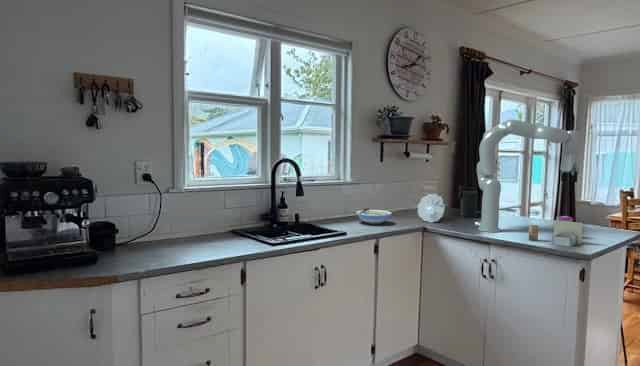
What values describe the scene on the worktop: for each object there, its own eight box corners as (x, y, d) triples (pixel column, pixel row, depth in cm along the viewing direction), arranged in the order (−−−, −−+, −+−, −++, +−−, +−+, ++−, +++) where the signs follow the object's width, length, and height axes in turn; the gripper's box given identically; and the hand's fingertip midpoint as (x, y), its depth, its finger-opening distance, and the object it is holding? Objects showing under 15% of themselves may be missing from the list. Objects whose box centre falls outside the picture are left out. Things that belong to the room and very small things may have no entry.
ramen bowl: (388, 228, 257) (388, 214, 257) (351, 225, 264) (351, 212, 264) (394, 221, 281) (394, 209, 280) (360, 219, 288) (361, 207, 287)
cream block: (547, 243, 218) (548, 222, 217) (553, 240, 226) (555, 219, 225) (575, 247, 209) (577, 225, 208) (581, 244, 217) (582, 222, 216)
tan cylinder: (527, 240, 225) (528, 225, 224) (530, 239, 228) (530, 224, 227) (536, 241, 222) (536, 226, 221) (538, 240, 225) (539, 225, 224)
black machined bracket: (472, 214, 317) (474, 185, 315) (477, 218, 297) (479, 187, 295) (456, 213, 319) (457, 184, 317) (460, 218, 299) (461, 187, 297)
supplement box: (555, 236, 237) (556, 216, 236) (565, 236, 237) (566, 216, 236) (562, 238, 231) (563, 217, 230) (572, 238, 231) (573, 217, 231)
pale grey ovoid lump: (423, 228, 277) (425, 221, 301) (449, 218, 272) (449, 211, 296) (411, 203, 278) (414, 197, 301) (437, 193, 272) (438, 188, 296)
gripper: (555, 151, 252) (554, 180, 254) (572, 152, 235) (571, 182, 236) (568, 152, 252) (566, 180, 254) (586, 152, 235) (584, 182, 236)
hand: (568, 181), depth 245 cm, fingers open, 9 cm apart
